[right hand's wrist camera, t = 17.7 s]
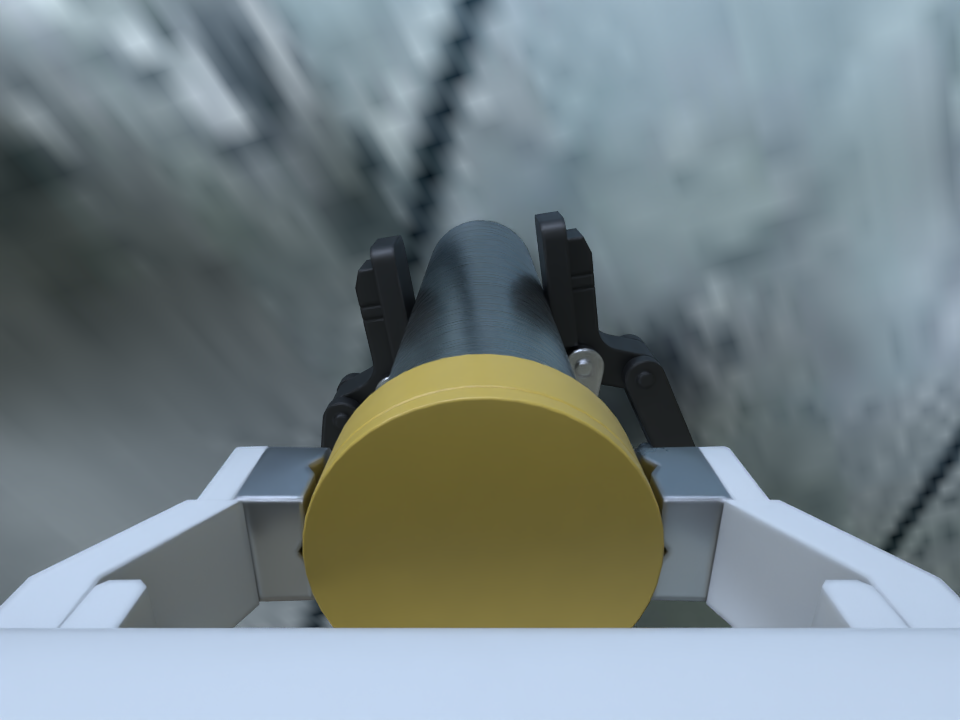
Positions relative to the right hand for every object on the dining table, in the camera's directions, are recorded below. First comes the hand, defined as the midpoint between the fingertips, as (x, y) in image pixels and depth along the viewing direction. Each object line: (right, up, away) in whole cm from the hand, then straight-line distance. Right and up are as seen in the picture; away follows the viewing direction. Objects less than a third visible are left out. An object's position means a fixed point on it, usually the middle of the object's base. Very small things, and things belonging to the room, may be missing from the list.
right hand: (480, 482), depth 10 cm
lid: (0, -1, -1) cm, 2 cm away
